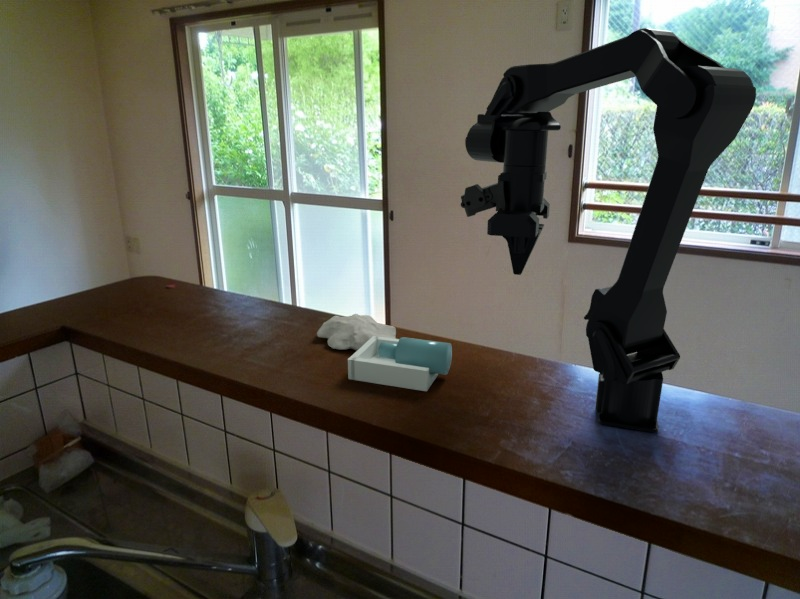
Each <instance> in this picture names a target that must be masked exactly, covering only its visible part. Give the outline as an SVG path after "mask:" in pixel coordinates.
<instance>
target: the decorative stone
mask: <svg viewBox="0 0 800 599" xmlns="http://www.w3.org/2000/svg"><path fill="white" fill-rule="evenodd" d="M396 330H397V328H396V327H395V326H392V325H387V324H383V323H378V322H377V321H376V320H375V319H374V318H373V317H372V316H371V315H367V314H364V315H361V314H358V313H354V314H352V315H348V316H339V315H334V316H332V317H331V318H329V319H328V320H327V321H324V322H323V323H322V325H321V326H320V327H319V329H318V330H317V332H316V336H317V337H318V338H322V339H327V345H328V346H329V347H331V349H334V350H335V349H336V350H338V351H339V350H348V349H351V350H354V351H357V350H358V349H360V348H361V347H362V346H363V345H364V344H365V343H366V342H367V341H368V340H369V339H371V338H372V337H373V336H378V337H386V338H394V339H397V337H396V335H397V331H396Z"/></svg>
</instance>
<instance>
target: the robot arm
mask: <svg viewBox="0 0 800 599" xmlns="http://www.w3.org/2000/svg"><path fill="white" fill-rule="evenodd" d="M502 76H503V77H502V78H501V80H500V81H499V84H498V86H497V88H496V90H495V92H494V95H493V96H492V98H491V100H490V102H489V103H488V106H487V107H486V111H485V113H479V114H477V117H476V119H477V120H476V121H477V122H476V123H474V124H472V126H470V128H469V131H468V132H467V133H466V137H465V141H464V142H465V143H464V144H465V145H464V146H465V150H466V153H467V154H468V156H469V157H470V158H471V159H473V160H476V161H479V162H480V161H481V162H489V163H490V162H491V163H500V164H501V163H502V164H503V170H502V172H501V173H500V174H499V175H498V177H497V182H496V183H492V184H489V185H487V186H484V187H481V185H479V184H478V183H476V184H473V185H471V186H466V187H465V189H464V194H462V195H461V196H460V199H461V203H460V207H461V208H462V209H464V212H465V214H466V217H467V218H470V217H473V216H476V214H478V213H481V212H483V211H487V210H491V209H493V208H495V213H494V214H493V215H492V216H491V217H490V218H489V219H488V220H487V230H486V231H487V232H486V233H487V235H488V236H496V237H502V238H503V239H504V240H505V241H506V242H507V247H508V253H509V256H510V263H511V269H512V273H513V275H515V276H516V275H517V276H518V275H519V276H521V275H522V274H523V272H524V269H525V267H526V266H527V262H528V261H529V258H530V256H531V254H532V252H533V251H534V248H535V245H537V242H538V239H539V238H540V235H541V233H542V231H543V229H544V227H545V224H543V223H540V218H539V217H538V216H542V217H543V219H544V220H545V219H546V220H547V219H548V218H549V216H550V203H549V202H548V200H547V199H546V198H544V192H545V181H546V180H547V173H548V171H546V165H547V154H548V141H549V140H548V139H549V138H548V137H549V132H550V131H560V130H561V129H562V126H561V124H560V123H559V122H558V121H557V120H556V119H555V117H553V115H552V113H551V111H553V110H555V109H557V108H558V107H560V106H562V105H564V104H565V103H566V102H567V101H568V99H569V98H570V97H572V96H575V95H576V94H580V93H583V92H587V91H590V90H594V89H597V88H598V89H599V88H601V87H604V86H609V85H611V84H615V83H618V82H622V81H626V80H629V79H632V78H636V80H637V83H638V85H639V88H640V91H641V92H642V94H644V95H645V96H646V97H647V98H649V100H650V101H651V102H652V103H653V104H655V105H656V109H655V114H654V120H653V126H652V127H653V128H652V130H653V135H654V141H655V146H656V151H657V158H656V163H655V166H654V169H653V172H652V176H651V178H650V181H649V185H648V187H647V190H646V193H645V196H644V200H643V202H642V206H641V210H640V212H639V215H638V218H637V221H636V224H635V227H634V231H633V233H632V235H631V239H630V242H629V245H628V248H627V252H626V254H625V257H624V260H623V262H622V267H621V269H620V272H619V275H618V278H617V280H616V281H615V283H613V285H609V286H604V287H600V288H595V289H594V291H593V293H592V294H591V299H590V305H589V308H588V311H587V313H586V314H585V315H584V316H583V319H584V320H586V321H587V322H586V326H585V336H586V337H587V341H588V345H589V352H590V356H591V357H590V358H591V362H592V368H593V370H594V371H595V372H597V373H598V378H597V386H596V387H597V388H596V396H595V406H594V407H595V409H594V410H595V411H596V412H597V413H598V423H599V424H601V425H604V426H611V427H618V428H623V429H630V430H636V431H642V432H648V433H649V432H650V433H655V434H656V433H658V432H659V429H660V426H659V421H658V415H659V409H660V402H661V396H662V390H663V384H664V376H663V375H664V374H663V372H665V371H671V370H674V369H675V367H676V366H677V364H678V362H679V361H680V359H681V355H680V352H678V350H677V348H676V347H675V344H674V343H673V342H672V340H671V338H670V337H669V335H668V334H667V332H666V330H665V323H666V319H667V314H668V310H667V305H666V301H665V296H664V287H665V285H666V283H667V280H668V276H669V274H670V271H671V269H672V266H673V264H674V261H675V259H676V255H677V254H678V252H679V248H680V246H681V242H682V240H683V237H684V234H685V232H686V229H687V227H688V224H689V221H690V219H691V216H692V214H693V212H694V211H693V210H694V208H695V206H696V204H697V201H698V198H699V195H700V192H701V191H702V187H703V184H704V183H705V179H706V177H707V175H708V171H709V169H710V168H711V166H712V165H713V163H714V162H715V161H716V160H717V159H718V158H719V157H720V156H721V155H722V154H723V152H724V151H725V150H726V149H728V147H729V146H730V145H731V144H732V143H733V142H734V141H735V140H736V137H737V136H738V135H739V133H740V131H741V129H742V128H743V126H744V124H745V123H746V120H747V118H748V117H749V115H750V114H751V112H752V110H753V108H754V106H755V103H756V97H757V88H756V87H755V86H754V83H753V81H752V79H751V77H750V76H749V75H748V74H747V73H746V71H743V70H741V69H739V68H735V67H734V68H733V67H725V66H723V64H721V63H720V62H719V61H717V60H715V59H713V58H712V57H710V56H708V55H707V54H705V53H703V52H701V51H699V50H697V49H696V48H694V47H692V46H690V45H688V44H687V43H686V42H685V41H683V40H682V39H681V38H680V37H679V36H678V35H676V34H675V33H674V32H673V31H670V30H665V29H664V30H663V29H655V28H648V27H643V28H639V29H636V30H634V31H633V32H631V33H629V35H627V36H624V37H622V38H621V37H620V38H619V39H616V40H613V41H611V42H607V43H605V44H602V45H600V46H597V47H593V48H591V49H588V50H585V51H583V52H581V53H578V54H575V55H572V56H569V57H566V58H564V59H561V60H558V61H554V62H552V63H551V62H549V63H534V64H533V63H531V64H523V65H521V64H519V65H513V66H510V67H508V68H507V69H506V70H505V71H504V73H503V75H502Z"/></svg>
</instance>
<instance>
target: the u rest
mask: <svg viewBox="0 0 800 599" xmlns="http://www.w3.org/2000/svg"><path fill="white" fill-rule="evenodd" d="M399 339H400V338H396V339H394V338H386V337H378V336H373V337H372V338H371V339H369V340H368V341H367V342H366V343H365V344H364V345H363V346H362V347H361V348H360V349H358V350H355V352H354V353H353V354H352V355H351V356H350V357H348V358H347V375H348V376H347V377H348V380H351V381H352V380H353V381H359V382H364V383H371V384H377V385H384V386H388V387H389V386H390V387H397V388H403V389H409V390H415V391H422V392H428V391H429V389H430V387H431V386H432V384H433V383H434V381H435V380H436V379H437V377H438V376H439V374H437V373H430V372H429V368H426V367H419V366H412V365H405V364H398V363H396V362H395V359H388V358H381V357H379V355H378V349H379V345H380V343H381V342H384V343H392V344H398V341H399Z"/></svg>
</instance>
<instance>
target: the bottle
mask: <svg viewBox="0 0 800 599" xmlns="http://www.w3.org/2000/svg"><path fill="white" fill-rule="evenodd" d="M398 339H399V341H398V344H392V343H384V342H381V343H380V345H379V349H378V355H379V357H381V358H388V359H395V362H396V363H398V364H405V365H412V366H419V367H426V368H429V372H430V373H437V374H438V375H439V374H440V375H445V376H447V375H448V373H449V371H450V368H451V364H452V359H453V347H452V343H451V342H444V341H435V340H427V339H420V338H412V337H406V336H405V337H404V336H402V337H400V338H398Z"/></svg>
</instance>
